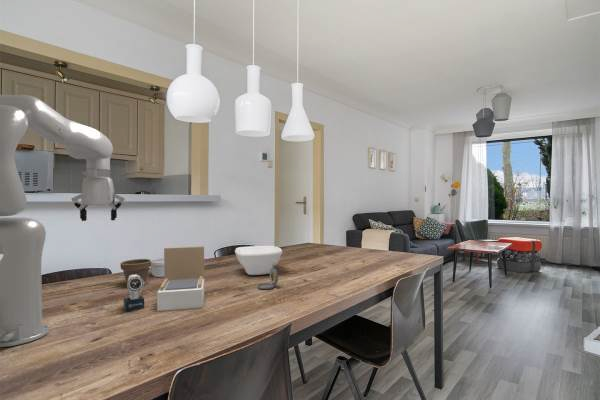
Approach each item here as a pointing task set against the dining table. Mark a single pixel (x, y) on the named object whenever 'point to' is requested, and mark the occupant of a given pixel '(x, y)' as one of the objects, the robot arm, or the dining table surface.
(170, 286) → the open display box
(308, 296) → the dining table surface
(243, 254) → the bowl
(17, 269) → the robot arm
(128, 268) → the flower pot
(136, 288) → the watch
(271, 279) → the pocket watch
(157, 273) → the ramekin
